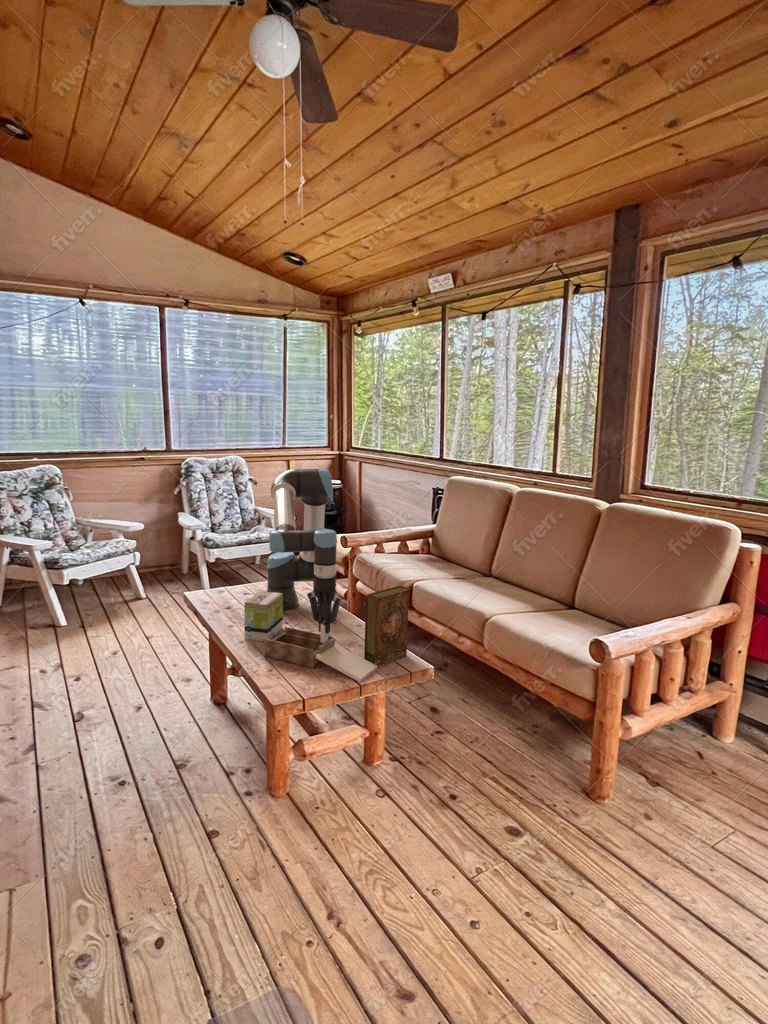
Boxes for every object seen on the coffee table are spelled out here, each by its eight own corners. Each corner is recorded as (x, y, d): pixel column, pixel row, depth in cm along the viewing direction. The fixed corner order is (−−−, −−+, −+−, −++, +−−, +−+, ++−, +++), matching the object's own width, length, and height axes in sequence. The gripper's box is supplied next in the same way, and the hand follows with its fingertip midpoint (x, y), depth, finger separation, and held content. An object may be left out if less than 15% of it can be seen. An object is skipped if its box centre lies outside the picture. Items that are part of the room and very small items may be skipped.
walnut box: (264, 657, 206) (264, 639, 205) (285, 643, 218) (285, 626, 217) (313, 669, 198) (313, 650, 197) (332, 654, 210) (332, 636, 208)
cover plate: (314, 657, 198) (316, 647, 196) (332, 645, 207) (335, 636, 206) (359, 682, 190) (361, 672, 189) (376, 669, 199) (379, 659, 198)
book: (398, 650, 214) (400, 585, 210) (408, 655, 210) (411, 589, 206) (364, 663, 204) (365, 594, 199) (374, 668, 200) (376, 598, 195)
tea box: (268, 642, 219) (268, 604, 216) (243, 639, 221) (243, 602, 218) (283, 627, 233) (283, 592, 231) (259, 625, 235) (259, 590, 233)
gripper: (302, 575, 197) (302, 641, 201) (336, 581, 192) (335, 648, 196) (314, 569, 204) (314, 633, 208) (347, 575, 198) (346, 640, 203)
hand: (324, 641), depth 202 cm, fingers closed
